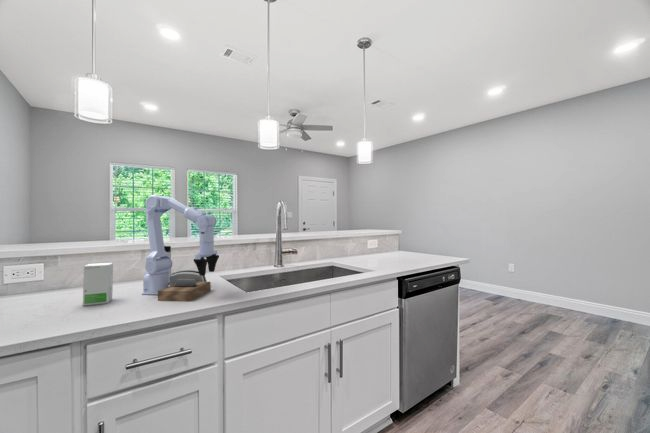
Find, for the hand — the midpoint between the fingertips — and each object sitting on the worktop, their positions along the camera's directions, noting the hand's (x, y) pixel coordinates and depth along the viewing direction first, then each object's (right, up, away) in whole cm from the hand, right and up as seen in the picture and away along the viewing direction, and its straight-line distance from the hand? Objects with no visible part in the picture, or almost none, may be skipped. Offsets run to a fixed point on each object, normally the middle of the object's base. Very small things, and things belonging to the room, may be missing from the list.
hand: (207, 273), depth 117 cm
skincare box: (-41, -10, -8) cm, 43 cm away
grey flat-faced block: (-9, -10, +1) cm, 14 cm away
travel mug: (-31, -10, +20) cm, 38 cm away
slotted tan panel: (-10, -10, +1) cm, 14 cm away
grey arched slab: (-15, -10, +14) cm, 23 cm away
